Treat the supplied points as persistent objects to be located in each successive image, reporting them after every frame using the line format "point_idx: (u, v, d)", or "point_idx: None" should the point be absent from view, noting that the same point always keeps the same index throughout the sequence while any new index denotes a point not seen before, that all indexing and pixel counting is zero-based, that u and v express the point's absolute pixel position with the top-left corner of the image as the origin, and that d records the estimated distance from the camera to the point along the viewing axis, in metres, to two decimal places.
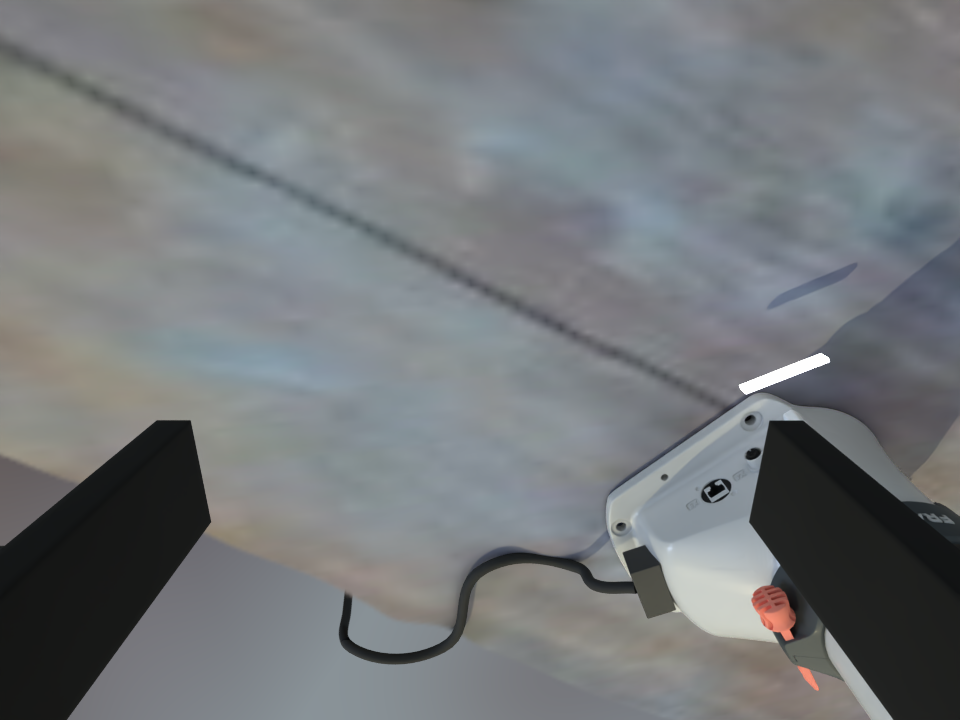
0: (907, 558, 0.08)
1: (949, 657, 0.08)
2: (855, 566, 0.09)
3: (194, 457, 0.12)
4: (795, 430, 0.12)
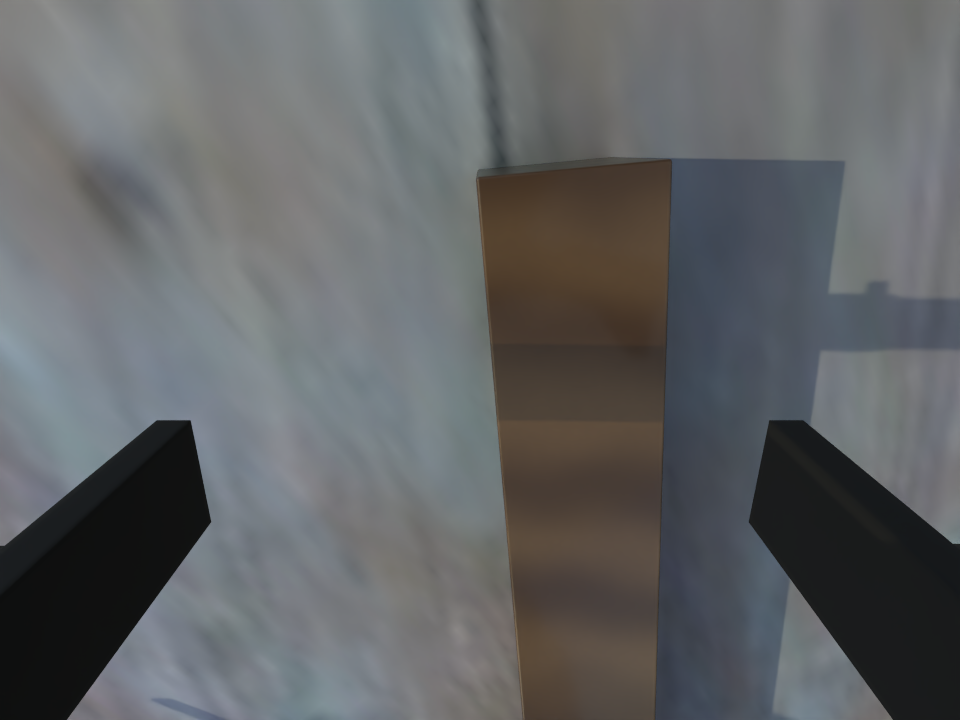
0: (907, 558, 0.08)
1: (949, 657, 0.08)
2: (855, 566, 0.09)
3: (194, 457, 0.12)
4: (795, 430, 0.12)
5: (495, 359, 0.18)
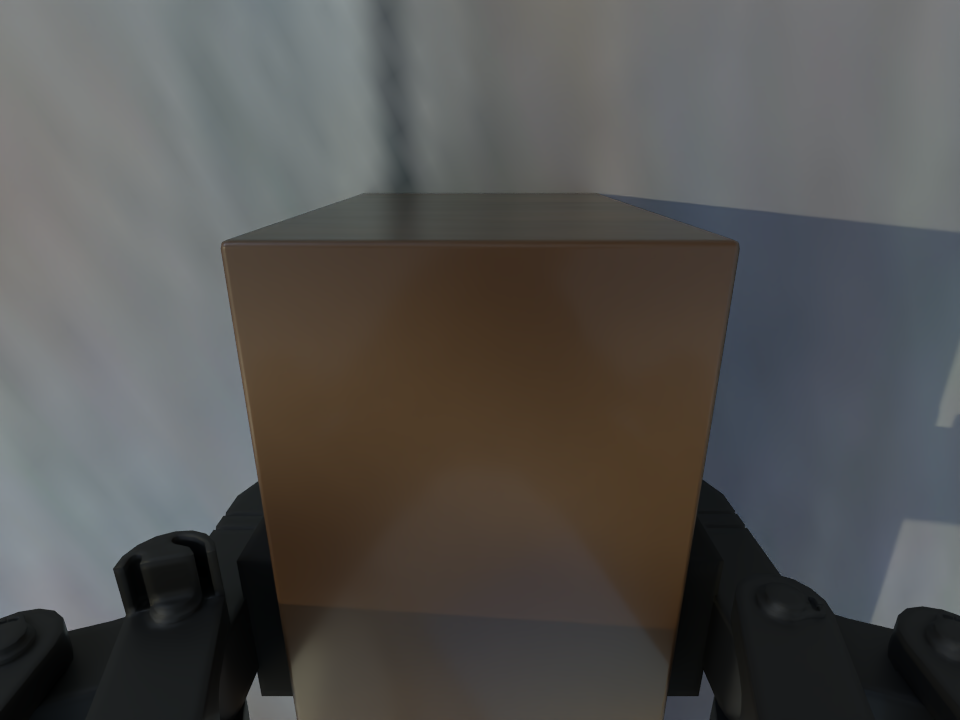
0: None
1: None
2: None
3: None
4: None
5: (291, 641, 0.08)
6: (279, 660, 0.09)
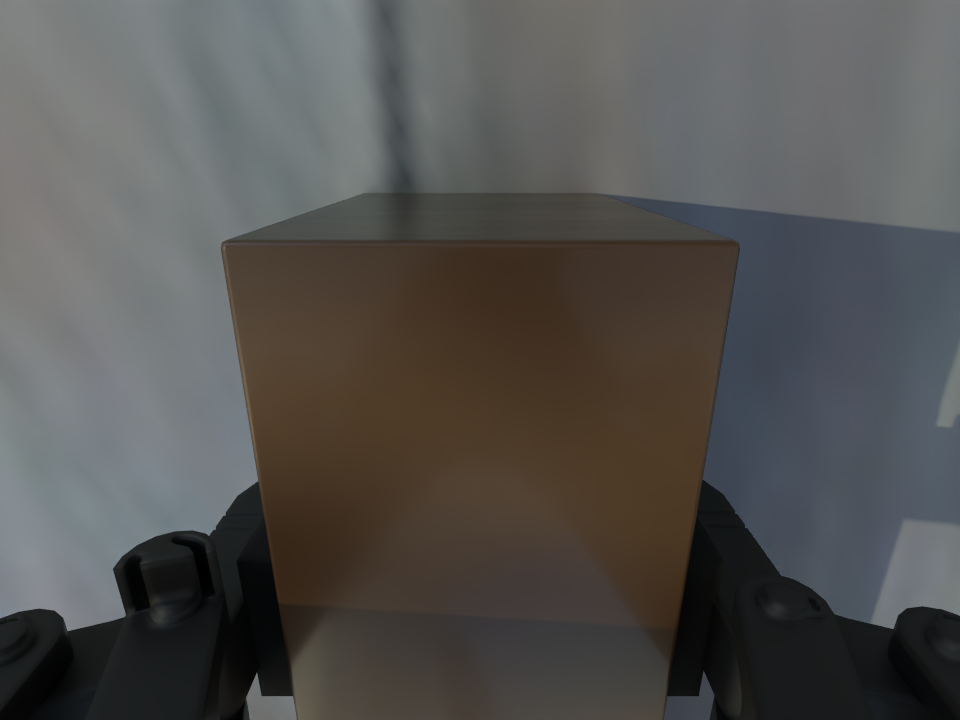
0: None
1: None
2: None
3: None
4: None
5: (291, 641, 0.08)
6: (279, 660, 0.09)
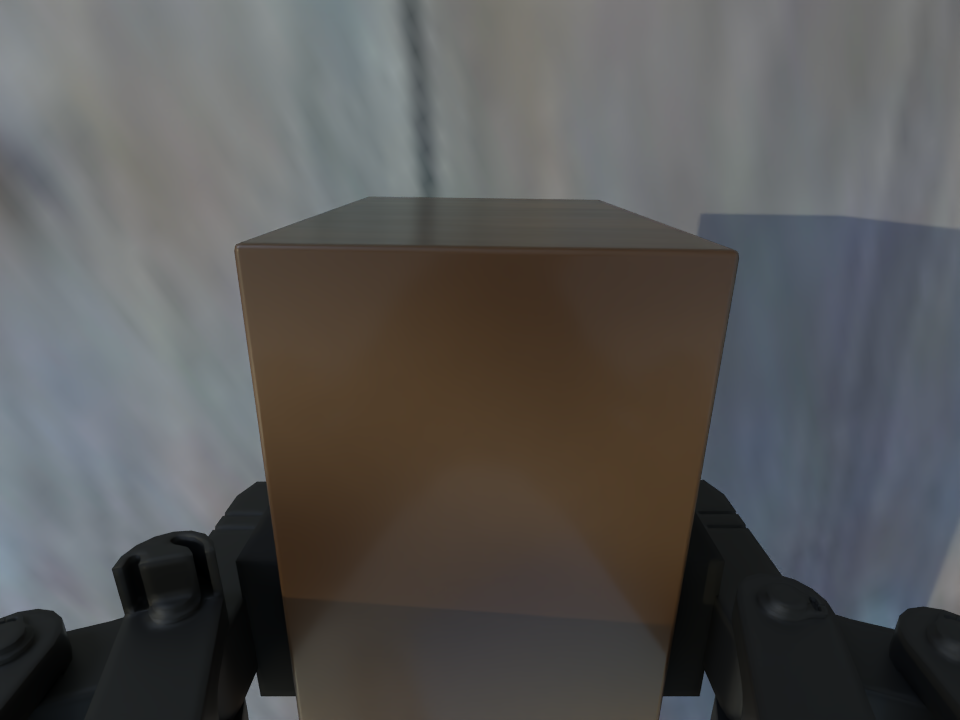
0: None
1: None
2: None
3: None
4: None
5: (294, 636, 0.08)
6: (278, 660, 0.09)
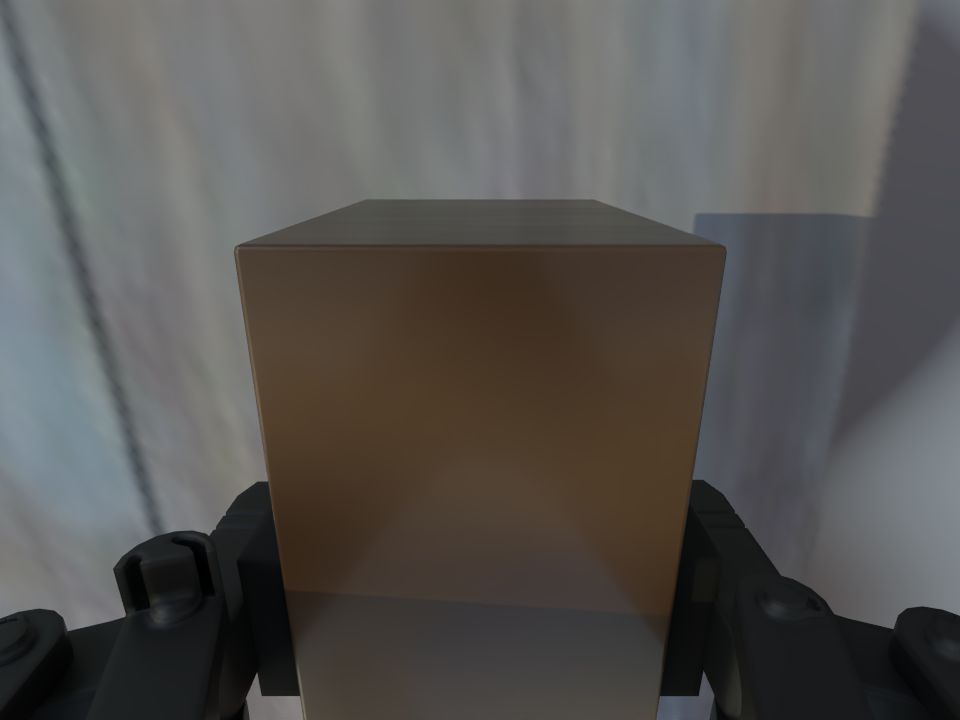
0: None
1: None
2: None
3: None
4: None
5: (297, 631, 0.08)
6: (279, 660, 0.09)
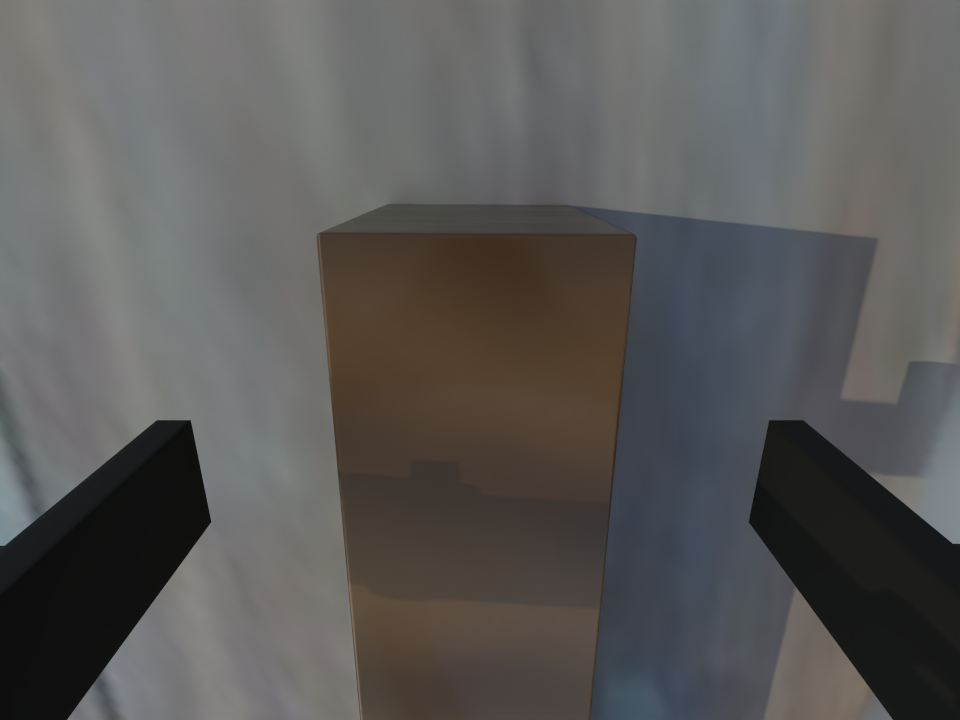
0: (907, 558, 0.08)
1: (949, 657, 0.08)
2: (855, 566, 0.09)
3: (194, 457, 0.12)
4: (795, 430, 0.12)
5: (346, 508, 0.11)
6: None
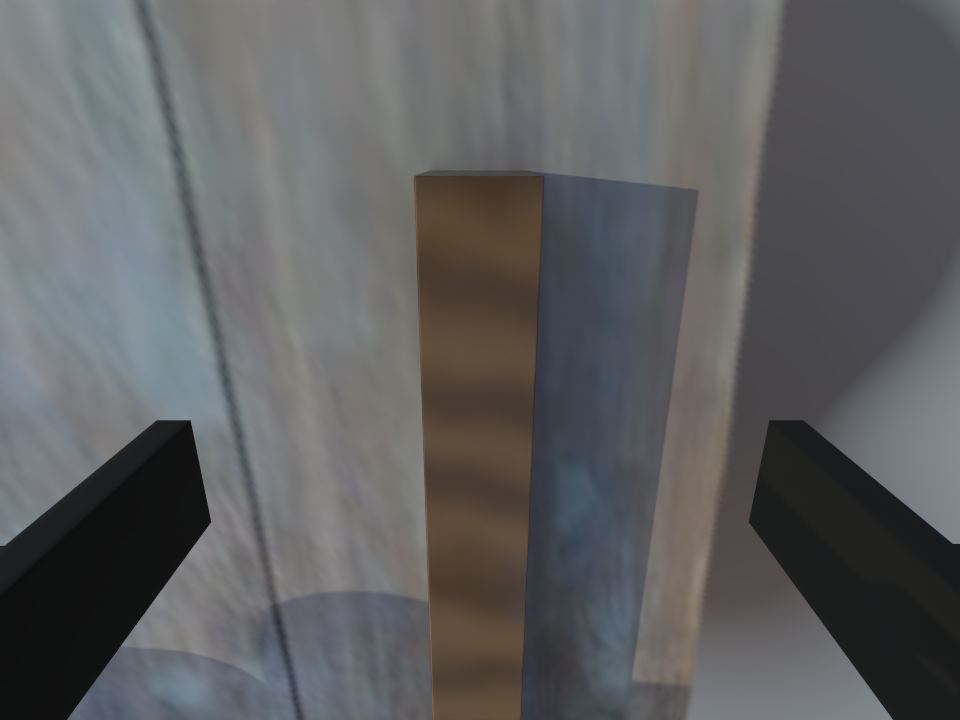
0: (907, 558, 0.08)
1: (949, 657, 0.08)
2: (855, 566, 0.09)
3: (194, 457, 0.12)
4: (795, 430, 0.12)
5: (421, 302, 0.26)
6: None
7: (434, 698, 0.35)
